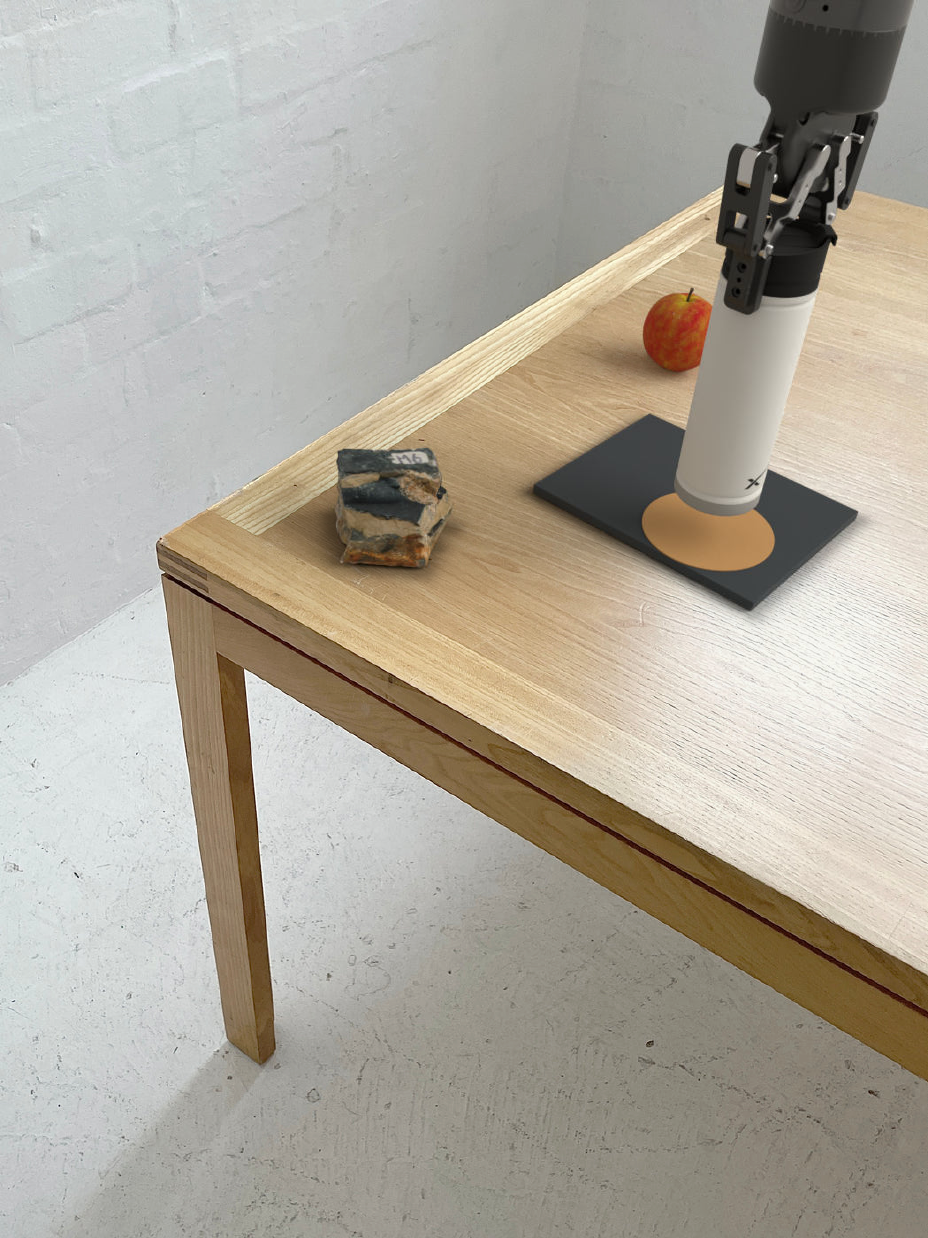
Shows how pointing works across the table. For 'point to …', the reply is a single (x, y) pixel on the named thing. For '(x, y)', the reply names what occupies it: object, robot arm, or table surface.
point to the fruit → (677, 331)
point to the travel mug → (749, 376)
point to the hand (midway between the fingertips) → (768, 292)
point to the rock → (390, 505)
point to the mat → (694, 514)
